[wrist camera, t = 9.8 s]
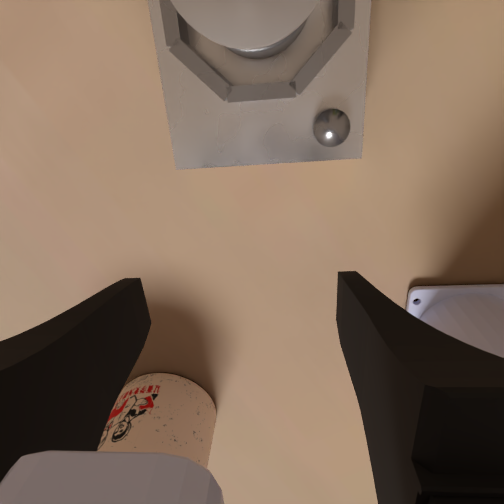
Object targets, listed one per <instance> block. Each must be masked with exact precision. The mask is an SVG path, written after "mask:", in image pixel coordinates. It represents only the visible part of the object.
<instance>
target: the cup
mask: <svg viewBox="0 0 504 504" xmlns="http://www.w3.org/2000/svg"><path fill="white" fill-rule="evenodd" d="M170 1H171V2H172V4H173V5H174V7H175V8H176V10H177V11H178V13H179V14H180V15H181V16H182V17H183V18H184V20H185V21H186V22H187V23H188V24H189V25H191V26H192V27H193V28H194V29H195V30H196V31H198V32H199V33H201V34H202V35H204V36H205V37H206V38H208V39H210V40H211V41H213V42H215V43H217V44H220V45H223V46H225V47H226V48H227V49H229V50H230V51H232V52H233V53H235V54H237V55H239V56H242V57H245V58H250V59H263V58H268V57H272V56H274V55H277V54H279V53H280V52H282V51H284V50H285V49H286V48H288V47H289V46H290V45H291V44H292V43H293V42H294V41H295V40H296V38H297V37H298V36H299V34H300V33H301V31H302V30H303V28H304V26H305V24H306V21H307V19H308V17H309V15H310V13H311V12H312V11H313V9H314V8H315V6H316V4H317V3H318V1H319V0H170Z"/></svg>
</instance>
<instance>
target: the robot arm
mask: <svg viewBox="0 0 504 504" xmlns="http://www.w3.org/2000/svg"><path fill="white" fill-rule="evenodd" d="M417 298H418V301H416V302H413V301H414V300H415V299H417ZM336 321H337V327H338V333H339V339H340V344H341V348H342V351H343V354H344V357H345V361H346V364H347V367H348V370H349V373H350V377H351V380H352V383H353V386H354V389H355V392H356V396H357V399H358V403H359V406H360V410H361V415H362V420H363V425H364V430H365V435H366V440H367V445H368V450H369V455H370V461H371V466H372V471H373V477H374V483H375V488H376V494H377V500H378V504H504V284H488V285H451V286H417V287H413V288H411V289H410V290H409V293H408V300H407V307H406V310H404V309H403V308H402V307H400V306H399V305H397V304H396V303H394V302H393V301H392V300H390V299H389V298H388V297H386V296H385V295H384V294H383V293H381V292H380V291H379V290H378V289H376V288H375V287H374V286H373V285H372V284H371V283H369V282H368V281H367V280H366V279H365V278H364V277H362V276H361V275H360V274H359V273H358V272H356V271H345V272H338V286H337V313H336ZM150 326H151V319H150V315H149V311H148V307H147V303H146V299H145V295H144V291H143V287H142V283H141V279H140V278H124V279H122V280H120V281H118V282H116V283H114V284H112V285H110V286H109V287H107V288H105V289H103V290H102V291H100V292H98V293H97V294H95V295H93V296H91V297H90V298H88V299H86V300H85V301H83V302H81V303H80V304H78V305H76V306H74V307H72V308H71V309H69V310H67V311H65V312H63V313H61V314H60V315H58V316H56V317H54V318H52V319H50V320H48V321H46V322H44V323H42V324H40V325H38V326H36V327H34V328H32V329H29V330H27V331H25V332H23V333H21V334H18V335H16V336H13V337H11V338H8V339H6V340H3V341H0V504H224V501H223V495H222V490H221V488H220V487H219V485H218V483H217V482H216V480H215V479H214V477H213V475H212V474H211V472H210V471H209V470H208V469H207V468H205V467H203V466H202V465H200V464H198V463H196V462H195V461H193V460H191V459H190V458H188V457H183V456H178V455H173V454H167V453H158V452H103V451H97V449H98V446H99V443H100V440H101V437H102V435H103V432H104V429H105V427H106V424H107V422H108V419H109V416H110V414H111V411H112V409H113V407H114V404H115V402H116V400H117V398H118V396H119V394H120V392H121V390H122V388H123V386H124V384H125V382H126V380H127V378H128V376H129V375H130V373H131V371H132V369H133V367H134V365H135V363H136V361H137V359H138V357H139V355H140V353H141V351H142V349H143V347H144V344H145V341H146V338H147V335H148V332H149V329H150Z"/></svg>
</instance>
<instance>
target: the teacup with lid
mask: <svg viewBox="0 0 504 504" xmlns="http://www.w3.org/2000/svg"><path fill="white" fill-rule="evenodd" d="M215 423H216V409H215V405H214V403H213V401H212V399H211V398H210V396H209V395H208V394H207V392H206V391H205V390H204V389H202V388H201V387H200V386H199V385H197V384H196V383H194V382H192V381H191V380H189V379H186V378H184V377H181V376H178V375H174V374H168V373H152V374H147V375H143V376H140V377H138V378H135V379H134V380H132V381H131V382H129V383H128V384H127V385H126V386H125V387H124V388H123V390H122V391H121V393H120V395H119V397H118V399H117V401H116V403H115V405H114V407H113V409H112V411H111V414H110V416H109V419H108V422H107V424H106V427H105V429H104V432H103V435H102V437H101V440H100V443H99V446H98V449H97V451H103V452H158V453H167V454H173V455H178V456H183V457H188V458H190V459H191V460H193V461H195V462H196V463H198V464H200V465H202V466H203V467H205V468H207V465H208V460H209V455H210V449H211V444H212V439H213V433H214V428H215Z"/></svg>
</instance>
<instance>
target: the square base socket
mask: <svg viewBox="0 0 504 504" xmlns="http://www.w3.org/2000/svg"><path fill="white" fill-rule="evenodd" d="M148 5H149V11H150V17H151V23H152V29H153V35H154V41H155V47H156V53H157V59H158V65H159V71H160V77H161V83H162V89H163V95H164V101H165V106H166V112H167V118H168V124H169V130H170V136H171V142H172V148H173V154H174V160H175V166H176V170H179V169H195V168H211V167H227V166H244V165H260V164H276V163H293V162H309V161H325V160H341V159H358V158H362V146H363V130H364V113H365V97H366V80H367V64H368V47H369V31H370V14H371V0H319V1H318V3H317V4H316V6H315V8H314V9H313V11H312V12H311V13H310V15H309V17H308V19H307V21H306V24H305V26H304V28H303V30H302V31H301V33H300V34H299V36H298V37H297V38H296V40H295V41H294V42H293V43H292V44H291V45H290V46H289V47H288V48H286V49H285V50H284V51H282V52H280V53H279V54H277V55H274V56H272V57H268V58H263V59H250V58H245V57H242V56H239V55H237V54H235V53H233V52H232V51H230V50H229V49H227V48H226V47H225V46H223V45H220V44H217V43H215V42H213V41H211V40H210V39H208V38H206V37H205V36H204V35H202V34H201V33H199V32H198V31H196V30H195V29H194V28H193V27H192V26H191V25H189V24H188V23H187V22H186V21H185V20H184V18H183V17H182V16H181V15H180V14H179V13H178V11H177V10H176V8H175V7H174V5H173V4H172V2H171V1H170V0H148Z"/></svg>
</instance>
